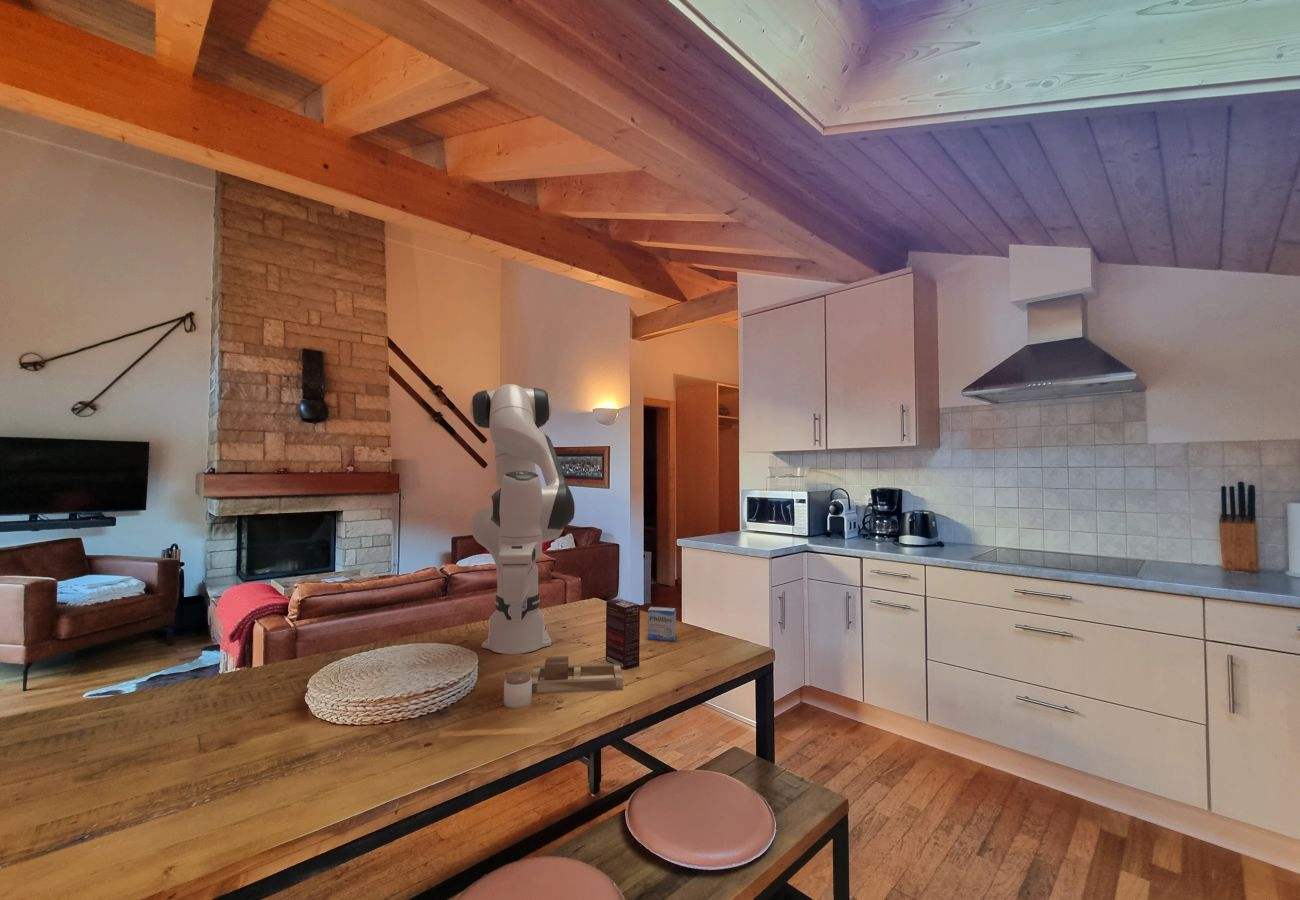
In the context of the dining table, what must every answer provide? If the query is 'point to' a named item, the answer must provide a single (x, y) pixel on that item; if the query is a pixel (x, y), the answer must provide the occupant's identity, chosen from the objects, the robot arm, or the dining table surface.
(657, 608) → the medicine box
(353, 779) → the dining table surface
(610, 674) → the organizer
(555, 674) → the walnut block
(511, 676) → the cream ceramic jar
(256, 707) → the dining table surface
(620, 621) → the supplement box
